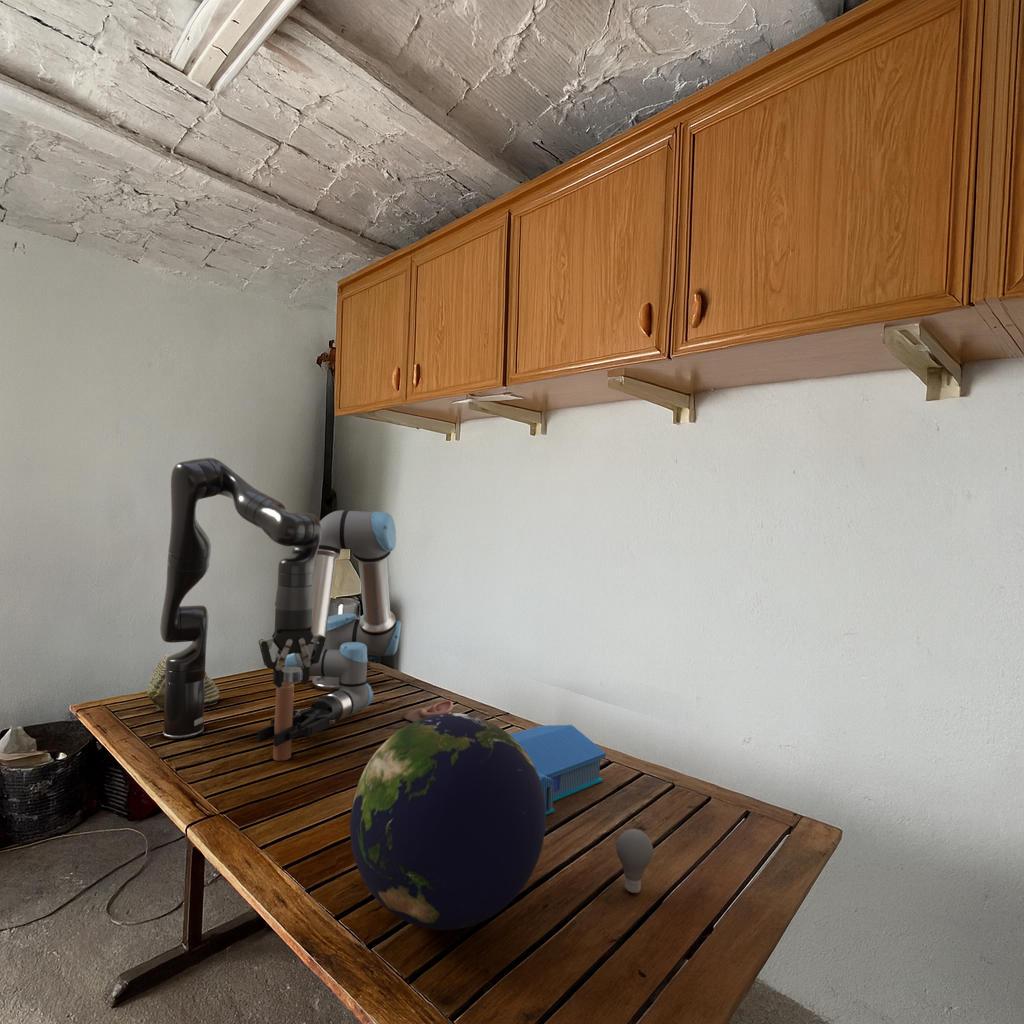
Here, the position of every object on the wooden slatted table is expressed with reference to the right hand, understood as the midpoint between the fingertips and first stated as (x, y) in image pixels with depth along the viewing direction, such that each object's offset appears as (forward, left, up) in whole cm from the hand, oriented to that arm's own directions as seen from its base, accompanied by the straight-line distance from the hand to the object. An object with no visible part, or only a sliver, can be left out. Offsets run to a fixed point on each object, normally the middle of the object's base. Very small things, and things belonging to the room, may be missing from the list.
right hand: (266, 738), depth 148 cm
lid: (+12, +8, +19) cm, 24 cm away
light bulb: (+47, +75, -6) cm, 89 cm away
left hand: (+12, +8, +16) cm, 22 cm away
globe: (+52, +44, -6) cm, 68 cm away
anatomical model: (-35, +35, -6) cm, 50 cm away
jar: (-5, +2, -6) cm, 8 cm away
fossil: (-40, -36, -6) cm, 54 cm away
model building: (+11, +58, -6) cm, 59 cm away
